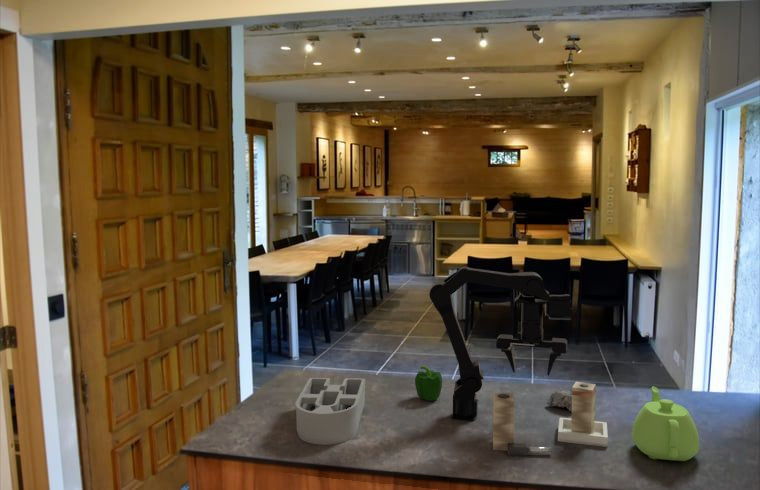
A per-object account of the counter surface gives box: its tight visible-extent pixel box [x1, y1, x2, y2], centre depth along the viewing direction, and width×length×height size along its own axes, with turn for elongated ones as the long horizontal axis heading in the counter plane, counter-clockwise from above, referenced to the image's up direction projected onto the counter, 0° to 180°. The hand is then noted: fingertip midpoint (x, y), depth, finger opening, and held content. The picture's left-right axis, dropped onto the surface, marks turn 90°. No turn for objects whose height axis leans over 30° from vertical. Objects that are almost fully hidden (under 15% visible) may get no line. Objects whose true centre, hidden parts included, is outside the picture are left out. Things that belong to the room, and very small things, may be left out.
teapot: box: [631, 386, 700, 462], centre depth 156 cm, size 22×15×13 cm
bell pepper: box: [414, 365, 443, 402], centre depth 194 cm, size 8×8×10 cm
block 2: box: [570, 381, 597, 434], centre depth 164 cm, size 5×5×13 cm
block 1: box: [492, 392, 515, 452], centre depth 159 cm, size 5×5×13 cm
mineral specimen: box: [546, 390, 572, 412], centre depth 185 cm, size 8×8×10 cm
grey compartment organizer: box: [294, 377, 366, 446], centre depth 175 cm, size 17×28×9 cm, turn 176°
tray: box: [557, 417, 609, 448], centre depth 165 cm, size 12×10×2 cm
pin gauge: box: [506, 442, 553, 457], centre depth 155 cm, size 10×2×2 cm, turn 87°
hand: (531, 373), depth 175 cm, fingers open, 9 cm apart
